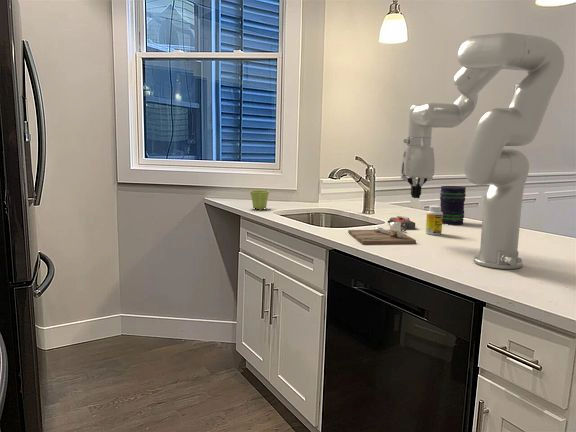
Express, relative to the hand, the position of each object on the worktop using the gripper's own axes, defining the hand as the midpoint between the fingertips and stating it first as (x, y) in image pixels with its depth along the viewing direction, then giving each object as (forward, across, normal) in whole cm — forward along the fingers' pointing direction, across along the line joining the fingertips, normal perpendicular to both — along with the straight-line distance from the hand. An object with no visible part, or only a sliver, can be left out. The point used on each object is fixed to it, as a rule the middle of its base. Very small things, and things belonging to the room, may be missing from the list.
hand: (415, 197), depth 166 cm
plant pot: (+16, -48, +74) cm, 89 cm away
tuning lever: (+13, -8, +3) cm, 15 cm away
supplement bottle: (+15, +11, +9) cm, 21 cm away
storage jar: (+15, +28, +31) cm, 44 cm away
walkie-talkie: (+15, +4, +21) cm, 26 cm away
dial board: (+14, -11, +2) cm, 18 cm away
